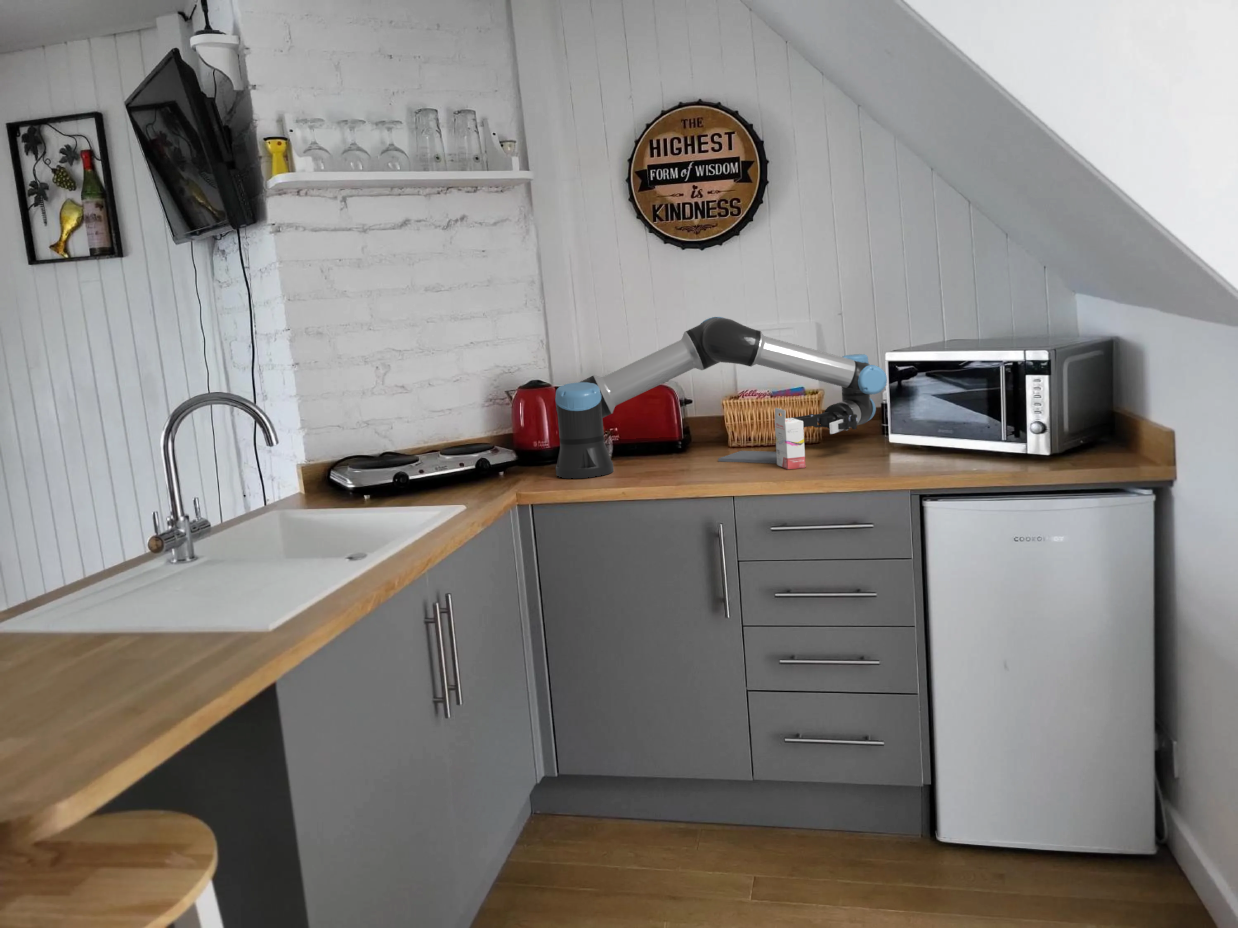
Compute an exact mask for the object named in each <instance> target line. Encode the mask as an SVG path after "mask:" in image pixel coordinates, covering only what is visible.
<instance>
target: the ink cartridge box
mask: <svg viewBox="0 0 1238 928" xmlns="http://www.w3.org/2000/svg"><path fill="white" fill-rule="evenodd" d="M786 413H787V412H786V409H783V408H777V407H775V408H774V431H775V450H776V451H775V452H776V454H777V463H776V465H777V466H779V467H781V468H783V469H786V470H795V469H805V468H806V450H805V437H804V436H805V434H804V432H805V431H804V428H805V427H803V421H801V420H797V419H794V418H792V417H786ZM779 414H780V415H779ZM785 418H786V419H785Z"/></svg>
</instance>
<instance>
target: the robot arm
mask: <svg viewBox="0 0 1238 928" xmlns="http://www.w3.org/2000/svg"><path fill="white" fill-rule="evenodd" d="M719 363H725V364H726V363H727V364H728V363H729V364H735V365H736V364H737V365H742V366H746V367H754V366H756V365H758V366H762V367H766V368H768V369H769V368H770V369H774V370H778V371H781V372H784V373H785V372H786V373H789V374H793V375H797V376H800V377H804V378H807V379H812V380H815V381H819V382H823V383H825V384H831V385H834V386H838V387H841V401H839V402H836V403H833V404H831V405H829V406H828V407H826V409H825V410H824V412H822V413H815V414H813V413H811V414H806V415H800V416H794V417H791V418H794V419H797V420H801V421H803V428H809V427H814V428H827V429H828V430H829V434H830V435H833V434H837V433H841V432H842V431H849V430H850V428H851V429H852V430H856V429H857V428H858V427H857V426H859V425H860V426H861V425H864V424H866V423H867V422H868V421H870V420H872V419H873V417H874V416H875V415H876V411H877V407H876V403H875V402H874V400H873V399H872V398H871V395H876V394H880V393H881V392H883V390H884V389H885V388H886V386H887V383H888V377H887V373H886V372H885V370H884V369H882V368H881V367H880V366H877V365H875V364H870V363H869V357H868V355H867V354H865V353H863V354H862V353H859V354H846V355H842V356H840V355H839V356H838V355H835V354H831V353H828V352H824V351H820V350H818V349H812V348H809V347H806V346H803V345H798V344H795V343H791V342H788V341H783V340H780V339H776V338H773V337H768V336H765V335H764V333H763V332H762V331H761V330H758V329H754V328H752V327H749V326H746V325H743V324H741V323H739V322H737V321H735V320H733V319H731V318H726V317H722V316H714V317H713V316H712V317H708V318H707V319H706V318H705V320H703V321H702V322H701V323H700V324H698V325H696V326H694V327H692V328H689V329H688V330H686V331H684V332H683V334H682V337H681V338H680V340H678V341H676V342H674V343H671V344H669V345H667V346H665V347H663V348H661V349H658V350H656V351H655V352H652V353H651V354H649V355H647V356H644V357H642V358H640V359H638V360H636V361H633V362H632V363H629V364H627V365H625V366H623V367H621V368H619V369H617V370H614V371H613V372H610V373H608V374H606V375H605V376H598V375H595V374H593V375H592V376H589V377H587V378H584V379H582V380H581V381H578V382H569V383H565V384H563V385H560V386H559V387H558V388H557V389H556V391H555V398H554V399H555V407H556V408H555V409H556V413H557V415H556V416H557V424H558V437H559V451H558V455H557V456H558V457H557V462H556V465H555V476H556V475H557V476H559V477H558V478H560V477H562V478H561V479H571V478H573V479H587V478H588V477H589V478H594V477H595V476H597V477H601V475H602V476H606V475H609V474H612V473H614V462H613V461H612V459H611V456H610V453H609V450H608V448H607V446H606V445H607V444H606V443H605V433H604V421H603V420H604V419H603V418H605V417H608V416H610V415H612V414H614V411H615V409H616V408H615V407H617V406H618V405H621V404H622V403H624V402H626V401H629V400H631V399H632V398H635V397H638V396H639V395H641V394H643V393H645V392H647V391H649V390H651V389H654V388H656V387H658V386H660V385H662V384H664V383H666V382H669V381H670V380H673V379H675V378H677V377H679V376H681V375H683V374H685V373H687V372H689V371H691V370H693V369H697V370H700V371H704V370H707V369H709V368H711V367H713V366H715V365H718V364H719ZM786 418H787V417H786ZM786 418H785V419H786ZM857 430H858V429H857ZM557 476H556V477H557Z"/></svg>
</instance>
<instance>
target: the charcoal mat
mask: <svg viewBox="0 0 1238 928" xmlns="http://www.w3.org/2000/svg"><path fill="white" fill-rule="evenodd" d="M718 462H724V463H726V462H727V463H752V464H777V454H776V451H768V450H767V451H766V450H765V451H763V450H762V451H761V450H757V451H756V450H739V451H737V452H734V453H730V454H728V455H727V454H726V455H725V456H721V457H718Z"/></svg>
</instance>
